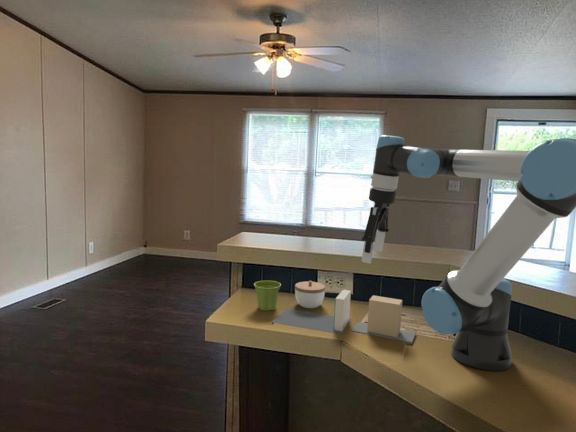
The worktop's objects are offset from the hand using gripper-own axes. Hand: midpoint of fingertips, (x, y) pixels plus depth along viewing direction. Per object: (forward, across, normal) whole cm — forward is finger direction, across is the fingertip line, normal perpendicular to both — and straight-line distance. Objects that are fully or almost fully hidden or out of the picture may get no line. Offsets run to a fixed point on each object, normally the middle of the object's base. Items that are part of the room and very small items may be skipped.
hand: (372, 256), depth 137 cm
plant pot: (+27, +1, -33) cm, 43 cm away
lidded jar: (+27, -8, -21) cm, 35 cm away
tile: (+23, +4, -5) cm, 24 cm away
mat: (+25, +5, -14) cm, 29 cm away
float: (+22, +3, +8) cm, 24 cm away
